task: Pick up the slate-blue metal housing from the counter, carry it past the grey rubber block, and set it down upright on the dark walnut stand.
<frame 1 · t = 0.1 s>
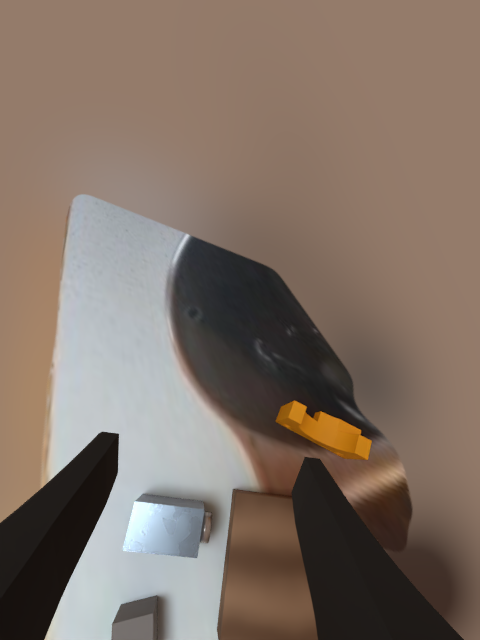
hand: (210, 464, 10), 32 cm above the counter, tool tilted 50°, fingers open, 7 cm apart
grey rubber block: (139, 622, 31), on the counter
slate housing: (169, 517, 35), on the counter
pipe clamp: (312, 427, 44), on the counter
walnut stand: (278, 558, 35), on the counter
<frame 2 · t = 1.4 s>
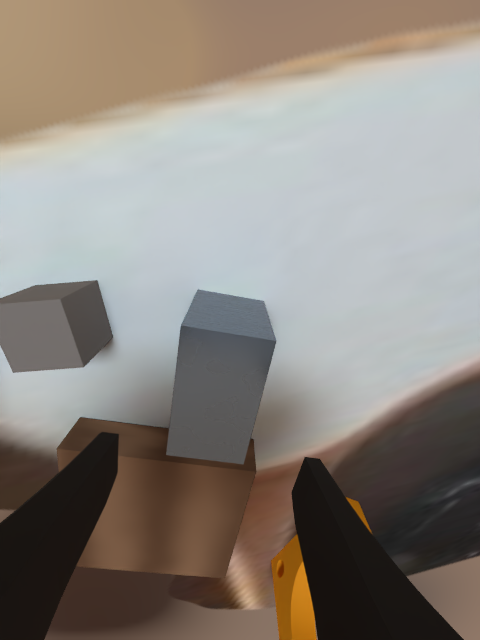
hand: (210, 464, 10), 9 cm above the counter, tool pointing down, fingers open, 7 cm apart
grey rubber block: (76, 311, 18), on the counter
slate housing: (221, 347, 19), on the counter
pipe clamp: (318, 531, 28), on the counter
walnut stand: (162, 487, 24), on the counter
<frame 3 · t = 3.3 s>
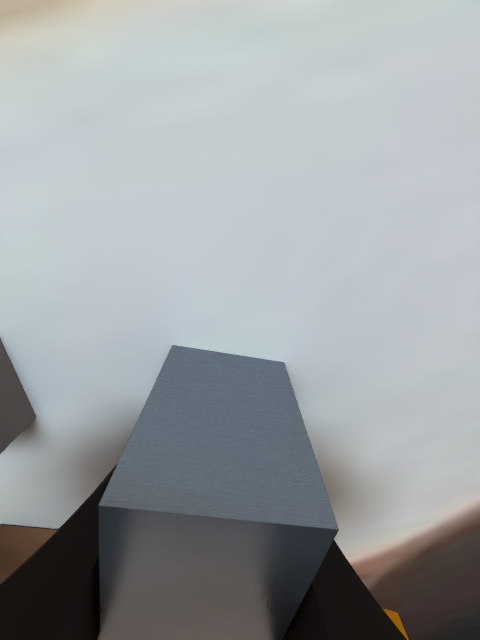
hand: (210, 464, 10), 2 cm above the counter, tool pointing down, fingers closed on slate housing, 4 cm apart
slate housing: (213, 432, 12), on the counter, touching gripper
walnut stand: (132, 604, 17), on the counter
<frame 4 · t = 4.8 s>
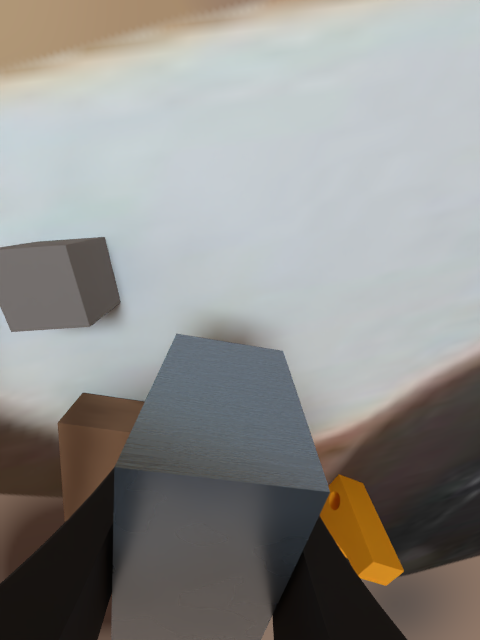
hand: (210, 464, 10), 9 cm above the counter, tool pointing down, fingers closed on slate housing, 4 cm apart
grey rubber block: (81, 273, 16), on the counter
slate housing: (215, 418, 12), point 7 cm above the counter, touching gripper
pipe clamp: (320, 517, 26), on the counter
walnut stand: (169, 471, 23), on the counter
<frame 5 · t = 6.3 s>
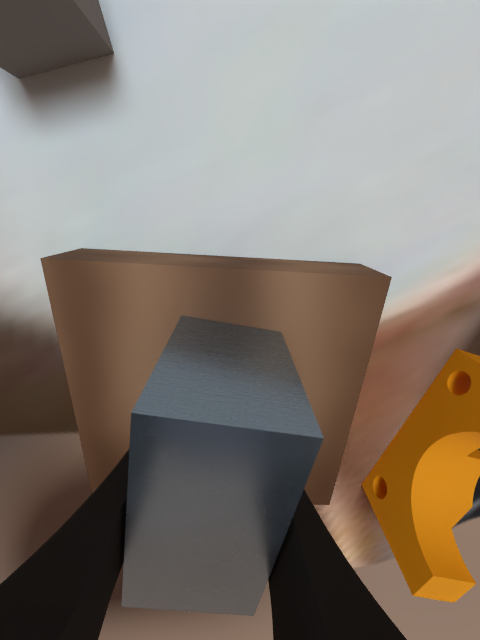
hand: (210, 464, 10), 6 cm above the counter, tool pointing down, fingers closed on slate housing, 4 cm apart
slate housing: (217, 398, 13), point 3 cm above the counter, touching gripper
pipe clamp: (427, 427, 19), on the counter
walnut stand: (219, 374, 16), on the counter
when the fingers open (6 cm above the counter, at t = 6.9 s): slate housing stays where it is, resting on walnut stand.
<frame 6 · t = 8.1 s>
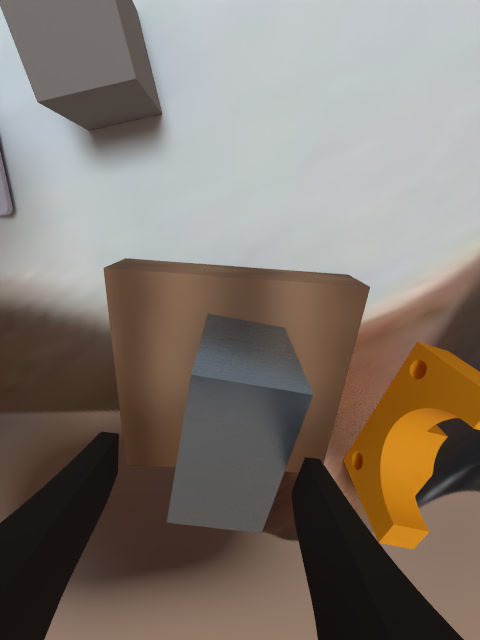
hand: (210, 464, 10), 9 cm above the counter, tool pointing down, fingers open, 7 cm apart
grey rubber block: (111, 74, 13), on the counter
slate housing: (232, 379, 16), point 3 cm above the counter, touching walnut stand
pipe clamp: (397, 409, 22), on the counter
walnut stand: (231, 363, 19), on the counter
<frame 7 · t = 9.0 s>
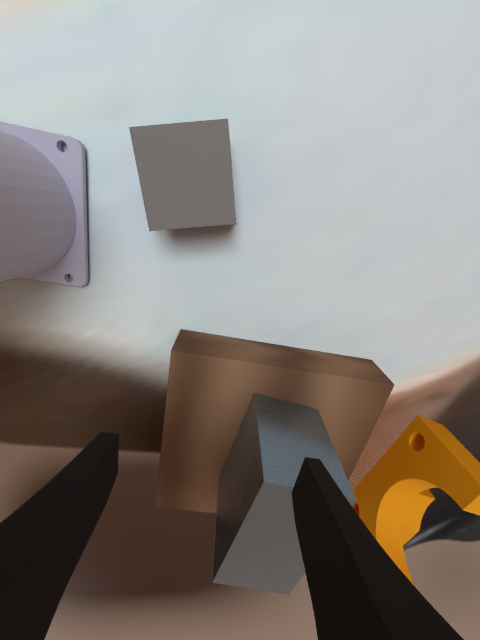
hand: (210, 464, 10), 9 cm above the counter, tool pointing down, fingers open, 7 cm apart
grey rubber block: (197, 186, 15), on the counter
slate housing: (265, 445, 19), point 3 cm above the counter, touching walnut stand
pipe clamp: (393, 467, 25), on the counter
walnut stand: (258, 421, 22), on the counter
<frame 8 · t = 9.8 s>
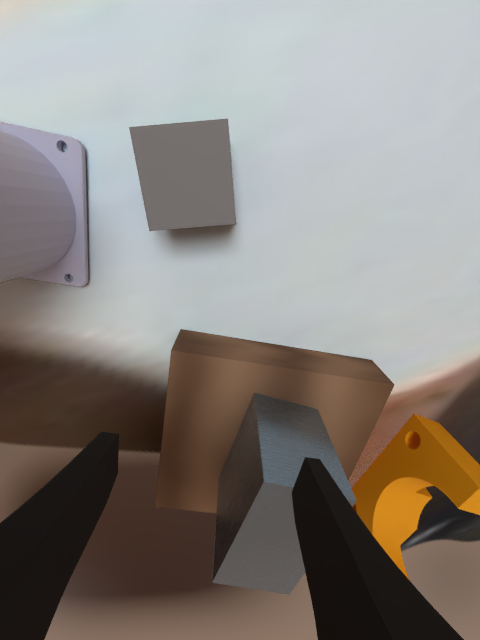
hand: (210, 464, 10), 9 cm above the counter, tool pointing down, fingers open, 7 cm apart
grey rubber block: (197, 186, 15), on the counter
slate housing: (265, 445, 19), point 3 cm above the counter, touching walnut stand
pipe clamp: (390, 466, 24), on the counter
walnut stand: (258, 421, 22), on the counter
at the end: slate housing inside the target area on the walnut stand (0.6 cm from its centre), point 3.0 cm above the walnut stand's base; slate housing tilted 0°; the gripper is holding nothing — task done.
